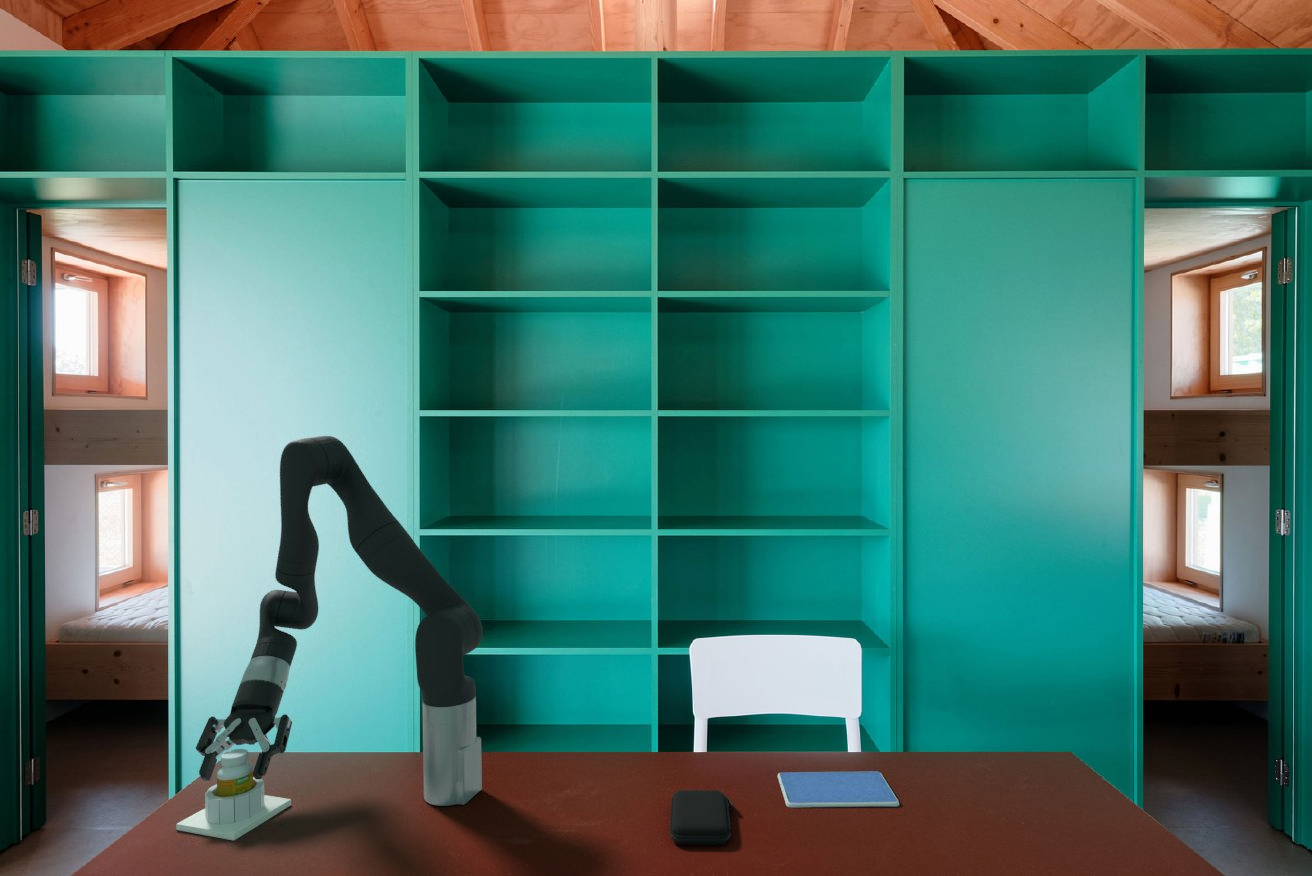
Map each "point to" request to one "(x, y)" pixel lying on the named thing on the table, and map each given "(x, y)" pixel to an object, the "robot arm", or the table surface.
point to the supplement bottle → (234, 774)
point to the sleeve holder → (233, 813)
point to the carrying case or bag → (700, 817)
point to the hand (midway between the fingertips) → (230, 778)
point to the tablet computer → (836, 789)
